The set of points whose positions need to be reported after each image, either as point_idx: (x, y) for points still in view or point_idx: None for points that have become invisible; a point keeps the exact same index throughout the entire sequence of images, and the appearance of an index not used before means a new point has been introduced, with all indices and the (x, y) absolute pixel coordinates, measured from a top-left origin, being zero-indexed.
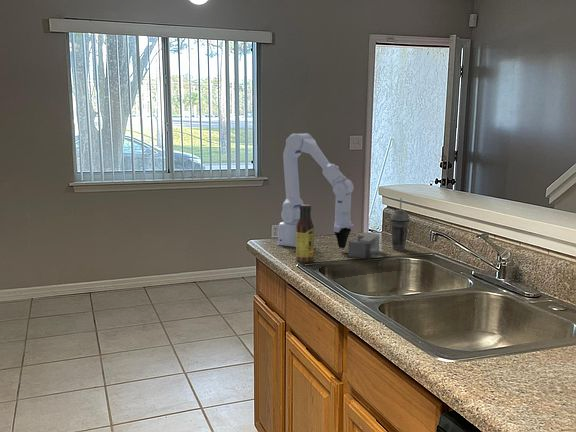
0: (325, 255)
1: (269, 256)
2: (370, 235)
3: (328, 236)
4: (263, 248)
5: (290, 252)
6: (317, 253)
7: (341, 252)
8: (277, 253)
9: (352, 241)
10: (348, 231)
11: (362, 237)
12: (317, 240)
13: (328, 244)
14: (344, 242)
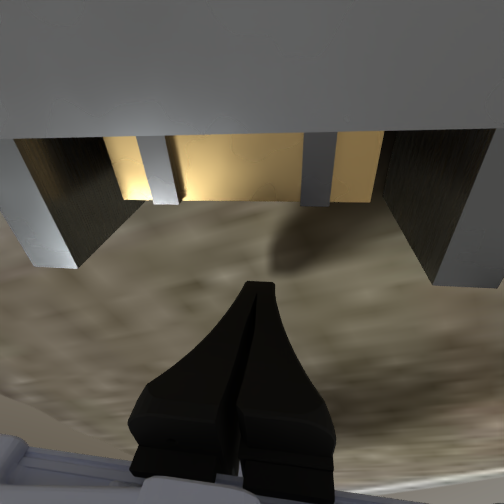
0: (417, 331)
1: (487, 478)
2: (8, 46)
3: (7, 383)
4: (347, 491)
5: (387, 442)
6: (373, 369)
7: (291, 273)
8: (421, 466)
9: (468, 248)
10: (280, 412)
11: (62, 208)
12: (108, 401)
13: (141, 362)
14: (279, 316)
